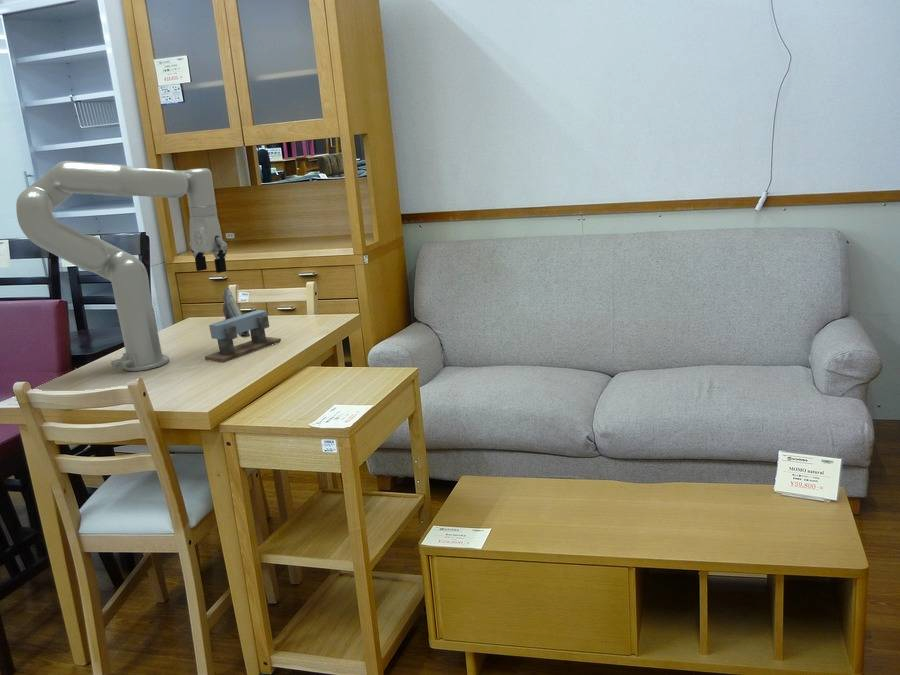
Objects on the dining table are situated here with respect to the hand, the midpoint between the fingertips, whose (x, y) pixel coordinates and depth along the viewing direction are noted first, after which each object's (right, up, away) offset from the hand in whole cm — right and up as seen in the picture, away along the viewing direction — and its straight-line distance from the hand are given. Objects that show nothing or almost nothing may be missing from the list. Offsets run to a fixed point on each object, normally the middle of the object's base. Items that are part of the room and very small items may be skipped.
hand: (211, 271), depth 237 cm
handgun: (-1, -17, +33) cm, 37 cm away
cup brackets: (+9, -23, +2) cm, 25 cm away
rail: (+8, -17, +1) cm, 19 cm away
